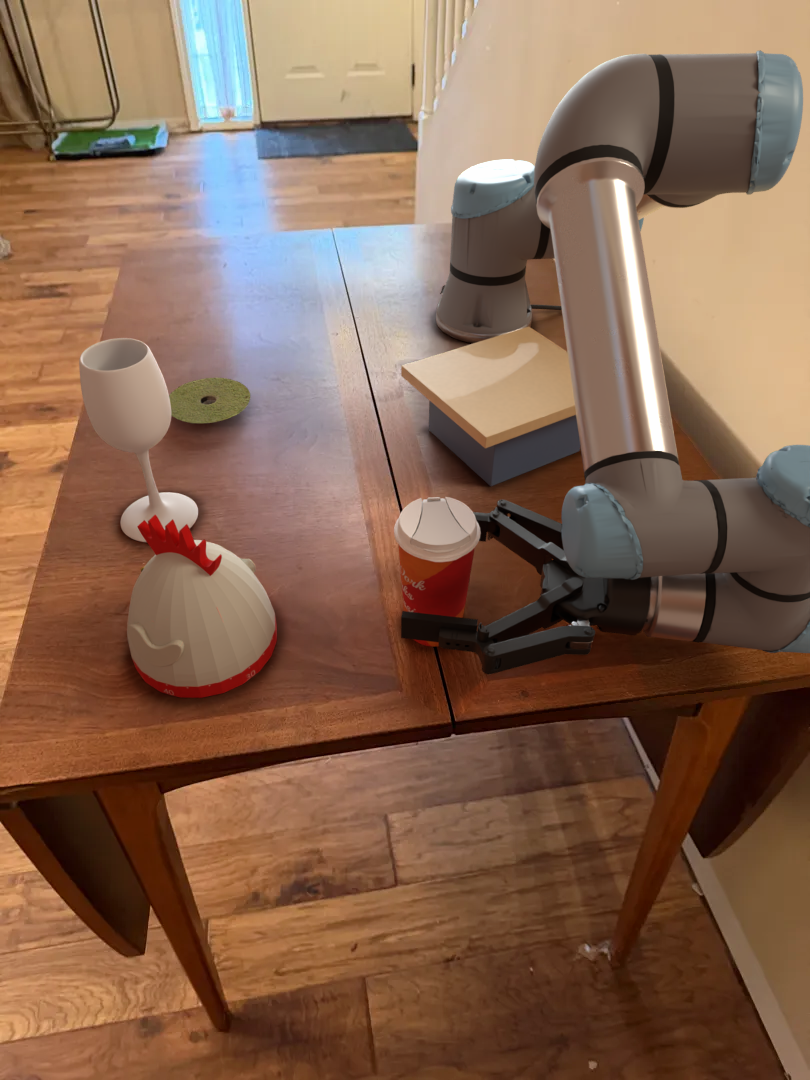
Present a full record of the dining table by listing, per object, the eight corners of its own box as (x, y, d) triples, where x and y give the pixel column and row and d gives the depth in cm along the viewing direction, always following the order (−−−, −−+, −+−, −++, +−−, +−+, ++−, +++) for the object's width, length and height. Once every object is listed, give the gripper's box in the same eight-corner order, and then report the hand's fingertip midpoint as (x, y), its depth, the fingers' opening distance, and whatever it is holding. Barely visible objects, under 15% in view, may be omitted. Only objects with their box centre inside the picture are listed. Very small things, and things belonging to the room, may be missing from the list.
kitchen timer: (192, 572, 83) (163, 459, 73) (303, 614, 78) (288, 500, 68) (102, 666, 73) (54, 551, 63) (222, 719, 69) (192, 605, 59)
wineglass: (212, 503, 91) (177, 340, 77) (172, 550, 85) (127, 384, 71) (148, 487, 93) (103, 326, 79) (105, 533, 87) (48, 367, 73)
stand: (521, 387, 110) (528, 326, 104) (607, 452, 99) (622, 387, 93) (400, 429, 103) (401, 365, 96) (480, 504, 91) (486, 437, 85)
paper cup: (391, 599, 80) (390, 494, 71) (465, 595, 81) (474, 489, 71) (397, 659, 74) (397, 553, 65) (477, 653, 75) (488, 548, 65)
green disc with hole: (269, 410, 106) (267, 397, 104) (201, 445, 100) (198, 432, 98) (218, 380, 111) (216, 368, 110) (151, 412, 105) (148, 399, 104)
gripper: (647, 735, 64) (391, 703, 66) (627, 534, 82) (428, 514, 84) (668, 679, 59) (391, 647, 61) (642, 477, 77) (429, 458, 79)
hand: (412, 569), depth 72 cm, fingers open, 13 cm apart
